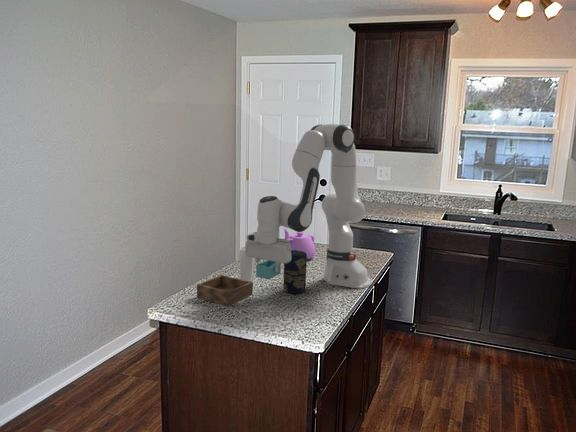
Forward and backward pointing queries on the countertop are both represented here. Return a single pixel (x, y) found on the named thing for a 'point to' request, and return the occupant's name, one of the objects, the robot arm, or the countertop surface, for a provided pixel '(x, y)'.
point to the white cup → (245, 265)
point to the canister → (295, 272)
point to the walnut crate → (224, 290)
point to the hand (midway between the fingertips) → (267, 270)
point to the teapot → (301, 243)
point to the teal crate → (267, 269)
